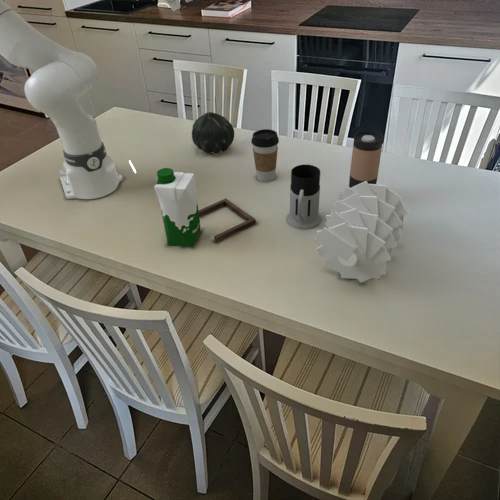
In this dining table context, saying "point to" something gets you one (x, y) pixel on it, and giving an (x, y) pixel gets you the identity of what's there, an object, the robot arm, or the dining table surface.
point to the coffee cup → (265, 153)
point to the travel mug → (365, 157)
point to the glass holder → (304, 196)
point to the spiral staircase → (362, 231)
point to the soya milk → (178, 207)
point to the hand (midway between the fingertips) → (184, 5)
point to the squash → (212, 133)
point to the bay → (237, 210)
